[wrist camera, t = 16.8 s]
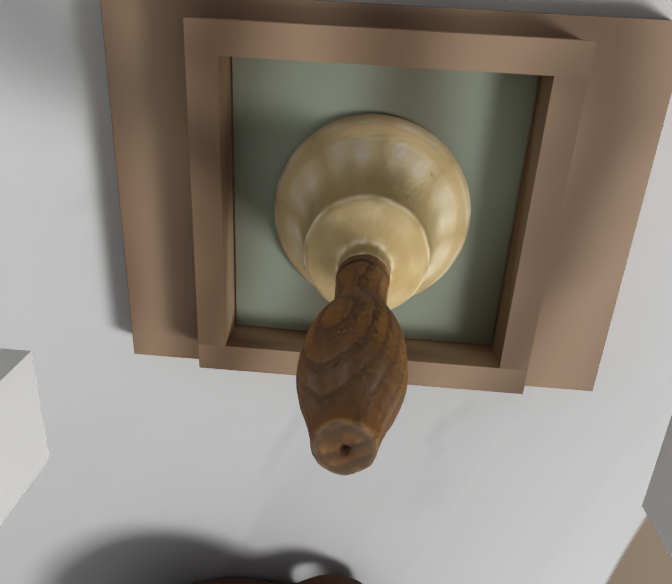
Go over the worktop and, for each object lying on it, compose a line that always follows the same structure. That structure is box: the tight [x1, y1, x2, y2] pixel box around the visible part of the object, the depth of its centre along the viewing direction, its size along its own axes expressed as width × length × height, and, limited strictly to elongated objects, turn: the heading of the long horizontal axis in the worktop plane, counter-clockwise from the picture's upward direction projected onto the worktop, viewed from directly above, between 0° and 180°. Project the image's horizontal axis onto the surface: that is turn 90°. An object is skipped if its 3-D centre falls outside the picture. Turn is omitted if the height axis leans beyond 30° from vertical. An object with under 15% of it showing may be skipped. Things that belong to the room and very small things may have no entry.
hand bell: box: [274, 114, 471, 475], centre depth 19 cm, size 8×8×16 cm
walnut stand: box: [100, 0, 672, 394], centre depth 26 cm, size 22×16×4 cm
